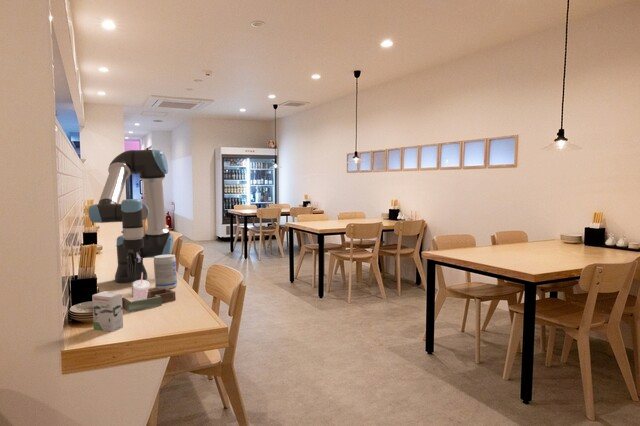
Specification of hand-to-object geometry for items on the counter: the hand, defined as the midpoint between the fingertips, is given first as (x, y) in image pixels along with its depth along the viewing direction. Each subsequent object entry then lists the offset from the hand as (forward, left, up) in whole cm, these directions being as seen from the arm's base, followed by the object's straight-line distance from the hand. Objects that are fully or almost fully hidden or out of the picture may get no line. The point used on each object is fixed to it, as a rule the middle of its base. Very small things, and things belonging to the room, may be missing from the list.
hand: (136, 296), depth 172 cm
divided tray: (0, 0, -3) cm, 3 cm away
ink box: (+24, -17, -3) cm, 29 cm away
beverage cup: (+3, 0, -2) cm, 4 cm away
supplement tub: (-18, +19, -3) cm, 27 cm away
